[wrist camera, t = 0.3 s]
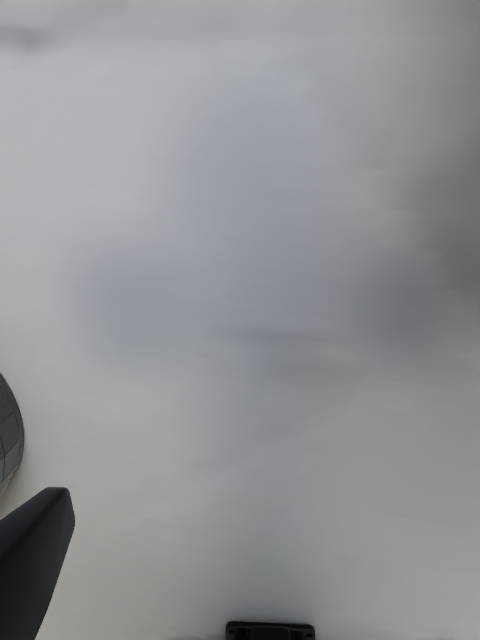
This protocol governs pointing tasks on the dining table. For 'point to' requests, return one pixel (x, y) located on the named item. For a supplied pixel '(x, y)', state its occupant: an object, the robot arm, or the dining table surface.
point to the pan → (9, 435)
